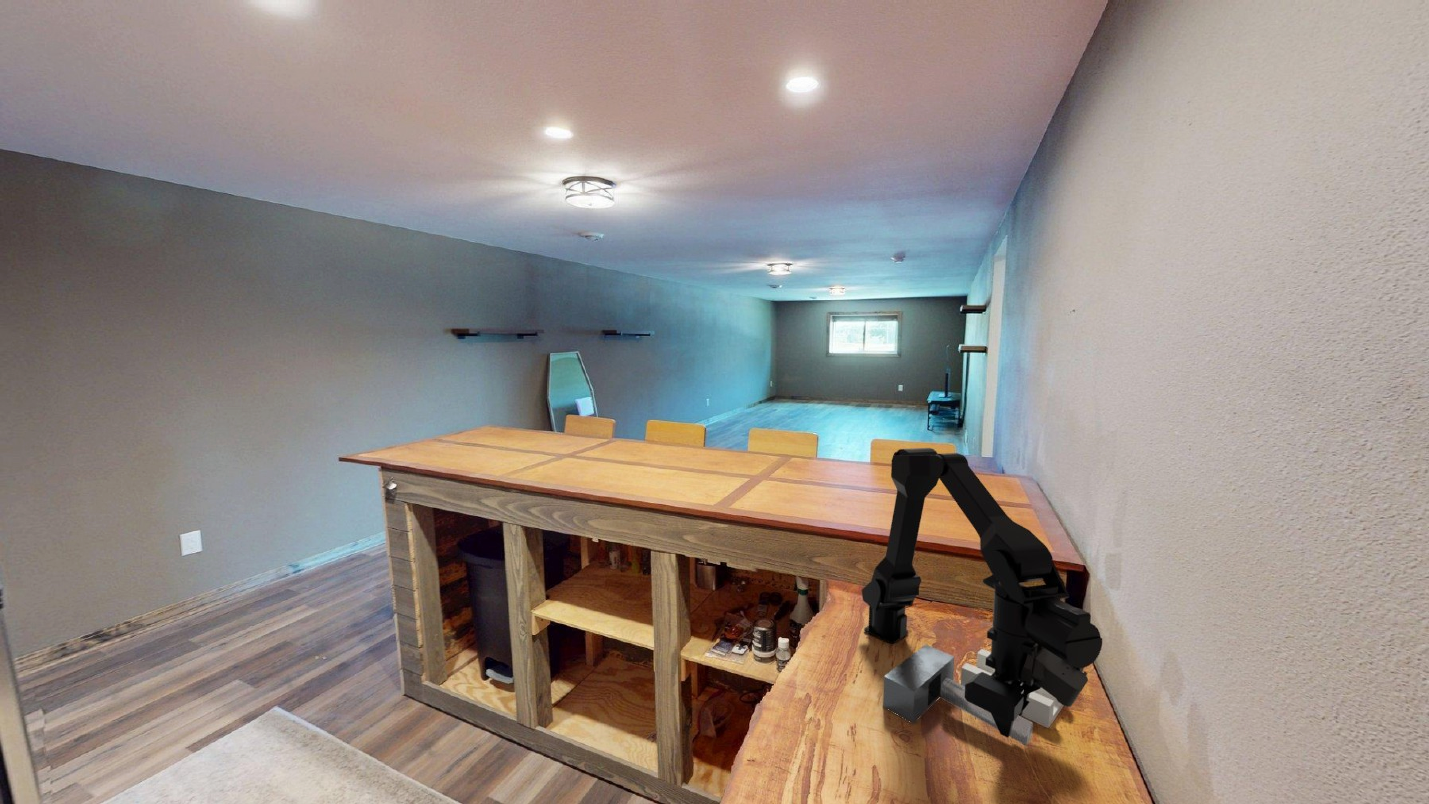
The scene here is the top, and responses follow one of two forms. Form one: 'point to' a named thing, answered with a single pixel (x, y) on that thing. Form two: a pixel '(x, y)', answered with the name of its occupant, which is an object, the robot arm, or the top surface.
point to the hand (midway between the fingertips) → (1009, 729)
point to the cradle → (1041, 702)
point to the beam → (917, 682)
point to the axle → (983, 711)
